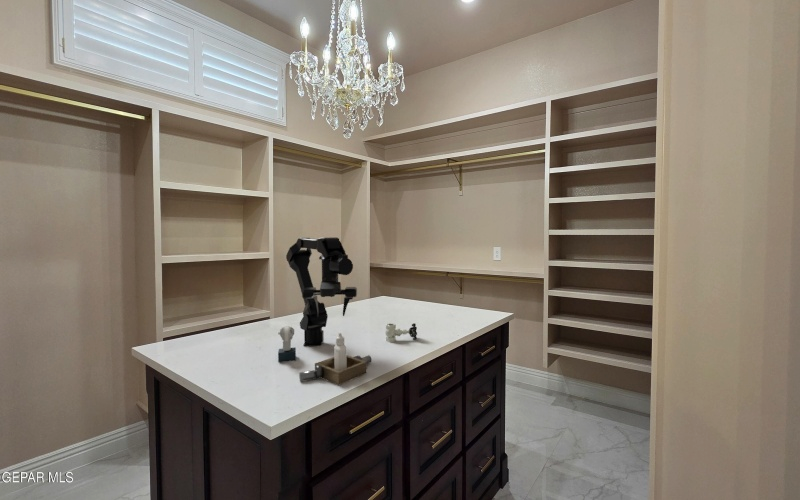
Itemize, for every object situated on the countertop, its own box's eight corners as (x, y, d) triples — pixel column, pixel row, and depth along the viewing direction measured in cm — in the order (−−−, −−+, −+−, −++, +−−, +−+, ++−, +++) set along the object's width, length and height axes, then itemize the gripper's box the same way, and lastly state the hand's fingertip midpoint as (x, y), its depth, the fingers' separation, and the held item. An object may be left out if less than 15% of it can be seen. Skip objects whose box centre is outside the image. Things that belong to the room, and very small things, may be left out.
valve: (386, 344, 134) (417, 342, 136) (386, 327, 134) (417, 325, 136) (384, 338, 141) (413, 337, 143) (384, 322, 141) (413, 321, 143)
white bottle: (330, 375, 103) (330, 335, 103) (336, 368, 109) (335, 330, 108) (345, 376, 103) (344, 335, 102) (349, 368, 108) (349, 330, 108)
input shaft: (359, 369, 109) (359, 358, 109) (351, 366, 111) (351, 355, 111) (373, 363, 114) (373, 353, 114) (365, 361, 116) (365, 350, 116)
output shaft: (320, 375, 105) (320, 363, 105) (322, 379, 102) (322, 367, 101) (299, 378, 102) (298, 366, 102) (300, 383, 99) (300, 371, 99)
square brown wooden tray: (338, 385, 98) (338, 373, 98) (314, 375, 105) (314, 363, 105) (366, 373, 106) (366, 361, 106) (342, 364, 113) (342, 353, 113)
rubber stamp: (295, 354, 123) (295, 323, 122) (295, 362, 115) (295, 329, 115) (279, 355, 121) (278, 324, 121) (277, 364, 114) (277, 331, 113)
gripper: (298, 275, 115) (299, 322, 116) (355, 275, 116) (355, 321, 117) (305, 272, 126) (305, 314, 127) (356, 271, 127) (357, 313, 128)
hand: (330, 316), depth 125 cm, fingers open, 9 cm apart
